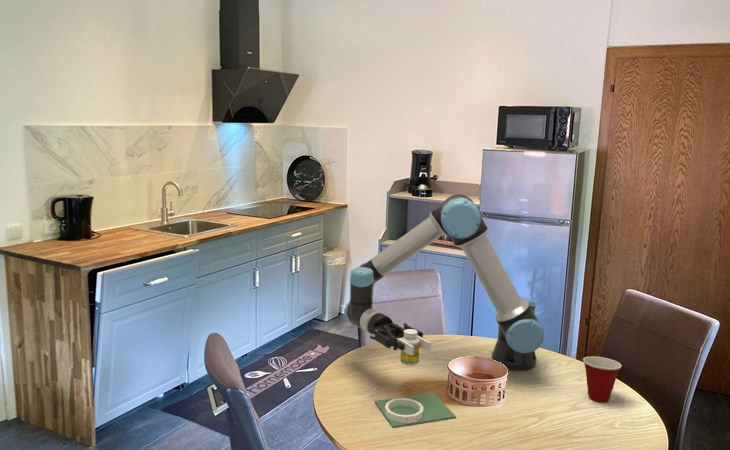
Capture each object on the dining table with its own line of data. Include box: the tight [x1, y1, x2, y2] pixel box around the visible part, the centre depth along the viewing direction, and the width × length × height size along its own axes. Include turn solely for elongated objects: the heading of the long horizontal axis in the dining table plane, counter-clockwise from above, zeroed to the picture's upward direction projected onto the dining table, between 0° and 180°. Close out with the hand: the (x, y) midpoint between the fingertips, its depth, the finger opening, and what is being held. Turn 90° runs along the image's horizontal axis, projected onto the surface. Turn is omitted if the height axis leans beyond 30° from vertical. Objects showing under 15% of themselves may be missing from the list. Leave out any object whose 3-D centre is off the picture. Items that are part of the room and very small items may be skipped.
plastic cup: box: [582, 355, 623, 404], centre depth 173 cm, size 11×11×12 cm
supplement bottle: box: [400, 328, 420, 367], centre depth 167 cm, size 5×5×10 cm
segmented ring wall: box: [385, 397, 424, 424], centre depth 162 cm, size 11×11×2 cm
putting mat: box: [374, 392, 457, 429], centre depth 165 cm, size 19×15×1 cm
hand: (421, 349), depth 162 cm, fingers closed on supplement bottle, 5 cm apart
